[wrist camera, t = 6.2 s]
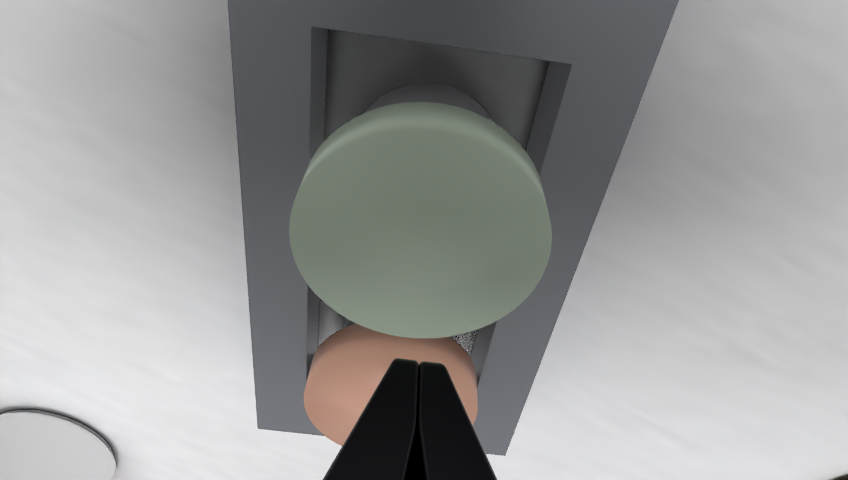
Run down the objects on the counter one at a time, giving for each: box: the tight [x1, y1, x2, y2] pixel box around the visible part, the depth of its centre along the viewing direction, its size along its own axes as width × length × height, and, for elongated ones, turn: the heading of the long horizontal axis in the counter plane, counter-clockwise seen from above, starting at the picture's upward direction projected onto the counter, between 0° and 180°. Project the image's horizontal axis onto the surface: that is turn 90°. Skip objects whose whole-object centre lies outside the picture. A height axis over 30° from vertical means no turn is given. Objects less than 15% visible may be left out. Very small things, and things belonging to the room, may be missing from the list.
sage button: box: [289, 83, 552, 338], centre depth 14 cm, size 6×6×4 cm
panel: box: [228, 0, 679, 456], centre depth 16 cm, size 10×26×2 cm, turn 172°
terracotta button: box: [304, 318, 478, 446], centre depth 20 cm, size 6×6×4 cm
